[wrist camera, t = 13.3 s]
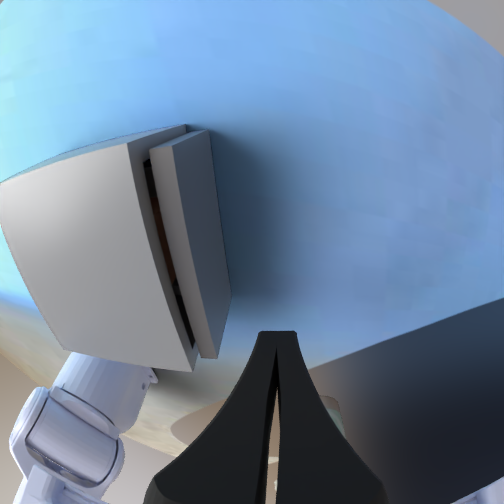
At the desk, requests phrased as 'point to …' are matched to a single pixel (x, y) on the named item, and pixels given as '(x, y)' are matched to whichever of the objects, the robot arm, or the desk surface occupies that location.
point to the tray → (193, 232)
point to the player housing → (98, 253)
